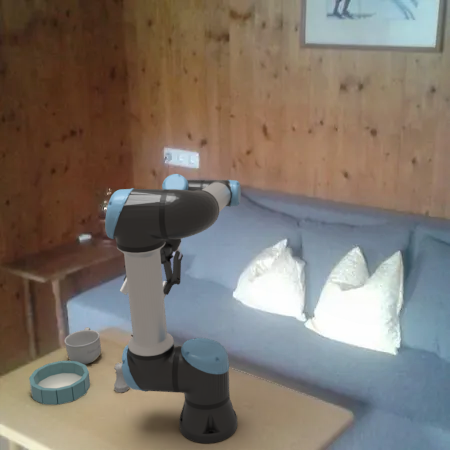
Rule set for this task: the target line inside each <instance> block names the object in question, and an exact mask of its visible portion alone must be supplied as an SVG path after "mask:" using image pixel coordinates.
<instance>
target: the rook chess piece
mask: <svg viewBox="0 0 450 450" xmlns="http://www.w3.org/2000/svg"><path fill="white" fill-rule="evenodd" d="M114 370H115V375H116V376H115V377H116V378H115V381H114V384H113V387H114V388H113V389H114V390H115V392H116V393H125V392H127V391H128V390H129V388H130V387H129V386H128V385H127V384H126V382H125V380H124V377H123V372H122V361H121V362H117V363H115V366H114Z"/></svg>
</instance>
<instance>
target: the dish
mask: <svg viewBox="0 0 450 450" xmlns="http://www.w3.org/2000/svg"><path fill="white" fill-rule="evenodd" d="M28 377H29V378H28V379H29V387H30V393H31V397H32V399H33V401H36V402H38V403H40V404H42V405H54V406H58V405H62V404H67V403H71V402H74V401H76V400H78V399H79V398H82V397H83V396H84V395H86V394H87V393H88V391H89V389H90V387H91V379H90V371H89V369H88V366H87V364H82V363H79V362H77V361H76V362H75V361H71V360H58V361H53V362H49V363H47V364H44V365H42V366H40V367H38V368H37V369H35V370H34V371H33V372H32V374H31V375H30V376H28Z"/></svg>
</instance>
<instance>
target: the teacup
mask: <svg viewBox="0 0 450 450" xmlns="http://www.w3.org/2000/svg"><path fill="white" fill-rule="evenodd" d="M64 344H65V349H66V353H67V357H68V358H69V361H75V362H76V361H77V362H79V363H82V364H84V365H87V364H90V363H92V362H93V363H94V362H95V360H97V358H99V356H100V355H101V352H102V351H101V350H102V347H101V344H102V343H101V339H100V333H99V332H98V331H97V330H94V329H91V327H84V329H82V330H77V331H74V332H72V333H70V334H68V335H66V337H65V338H64Z"/></svg>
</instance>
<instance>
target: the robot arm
mask: <svg viewBox="0 0 450 450" xmlns="http://www.w3.org/2000/svg"><path fill="white" fill-rule="evenodd" d="M161 186H162V187H161V188H159V189H158V188H134V187H132V188H126V189H124V188H122V189H118V190H116V191H114V192H113V193H112V194H111V196H110V198H109V200H108V204H107V207H106V214H105V221H104V223H105V225H104V228H105V233H106V235H107V237H108V238H109V239H111V240H115V242H116V243H115V244H116V248H117V250H118V251H120V252H121V253H123V255H124V256H123V257H124V266H123V268H124V269H125V276H124V278H123V283H122V285H121V287H120V290H119V292H121V293H122V294H123V295H125V296H127V295H128V302H129V303H128V304H129V310H130V319H131V320H130V321H131V330H132V335H133V337H132V336H131V338H130V339H129V340H128V342H127V343H128V344H126V345H125V347H124V348H123V351H122V355H121V362H122V372H123V377H124V380H125V382H126V384H127V385H128V386H129V388H130V389H131V390H135V391H142V392H144V393H145V392H160V393H161V392H163V393H164V392H165V393H180V394H181V393H183V394H184V402H183V405H182V409H181V411H180V415H179V418H178V419H179V420H178V421H179V424H178V425H179V431H180V434H181V435H183V437H185V438H186V439H188V440H189V441H192V442H195V443H201V444H212V443H218V442H221V441H224V440H226V439H229V438H230V437H231V436H233V435H234V434H235V432H236V431H237V428H238V415H237V413H236V411H235V409H234V406H233V403H232V400H231V398H230V397H231V396H230V371H229V370H230V361H229V356H228V355H229V354H228V351H227V349H226V347H225V346H224V345H223V344H221V343H220V342H219V341H216V340H214V339H211V338H206V337H195V338H194V339H192V338H191V339H188V340H186V341H185V342H183V343H182V345H181V346H180V345H175V340H174V337H173V336H172V334H170V333H169V332H168V329H167V317H166V307H165V306H166V304H165V298H166V297H167V295H169V294H170V292H171V289H172V288H173V286H174V285H178V286H179V285H180V284H181V279H182V278H181V274H182V272H181V271H182V260H183V257H184V255H183V253H181V251H179V250H178V249H179V248H180V245H181V243H182V239H186V238H189V237H192V236H195V235H198V234H199V233H202V232H205V231H206V230H208V229H209V228H211V227H212V226H213V225H214V224H215V223H216V221H217V220H218V218H219V215H220V212H221V211H222V210H223V209H224V208H225V207H229V208H231V207H238V206H239V205H240V203H241V196H242V190H241V189H242V188H241V183H240V181H238V180H236V179H235V180H233V179H226V180H225V179H187V178H186V177H185V176H183V175H181V174H179V173H173V174H172V173H171V174H169V175H168V176H167V177H165V179H164V180H163V182H162V184H161ZM172 259H173V260H172ZM171 260H172V262H171ZM162 265H163V269H164V274H165V278H166V279H165V280H163V269H162Z"/></svg>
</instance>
